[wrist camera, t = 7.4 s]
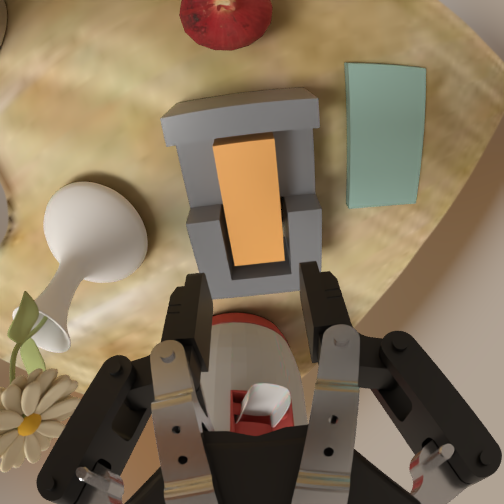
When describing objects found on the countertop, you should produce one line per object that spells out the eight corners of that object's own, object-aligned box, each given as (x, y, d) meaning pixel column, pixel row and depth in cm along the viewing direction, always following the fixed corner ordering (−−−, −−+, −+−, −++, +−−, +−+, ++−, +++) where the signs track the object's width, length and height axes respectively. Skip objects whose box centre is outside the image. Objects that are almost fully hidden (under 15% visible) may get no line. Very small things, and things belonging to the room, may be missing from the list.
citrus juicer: (326, 304, 37) (362, 469, 21) (269, 378, 46) (277, 502, 30) (195, 271, 33) (171, 463, 17) (168, 358, 43) (150, 491, 27)
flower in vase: (124, 285, 34) (65, 505, 14) (41, 235, 30) (-66, 436, 10) (181, 202, 28) (109, 514, 8) (79, 137, 24) (-124, 379, 4)
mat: (344, 62, 21) (348, 63, 20) (420, 67, 21) (425, 68, 20) (346, 203, 29) (348, 208, 28) (411, 198, 28) (415, 203, 28)
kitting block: (176, 103, 23) (160, 118, 18) (302, 87, 22) (318, 98, 18) (211, 261, 32) (207, 299, 28) (310, 250, 32) (320, 287, 27)
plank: (215, 135, 22) (212, 146, 20) (271, 128, 22) (274, 138, 20) (235, 247, 28) (234, 266, 26) (281, 242, 28) (284, 260, 26)
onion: (202, 59, 21) (184, 65, 14) (180, -3, 17) (152, -22, 11) (276, 39, 20) (291, 35, 14) (255, -25, 17) (260, -55, 10)
